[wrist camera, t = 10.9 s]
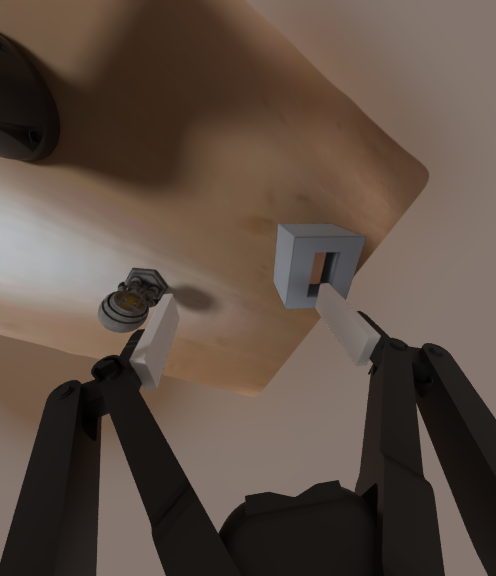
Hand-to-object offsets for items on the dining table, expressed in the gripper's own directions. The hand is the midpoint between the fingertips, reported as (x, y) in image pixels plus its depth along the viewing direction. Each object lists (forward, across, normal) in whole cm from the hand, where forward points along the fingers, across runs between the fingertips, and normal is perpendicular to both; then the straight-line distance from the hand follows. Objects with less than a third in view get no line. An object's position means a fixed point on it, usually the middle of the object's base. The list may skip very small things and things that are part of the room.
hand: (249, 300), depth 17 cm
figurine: (+27, -22, -12) cm, 37 cm away
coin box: (+27, +15, -6) cm, 31 cm away
